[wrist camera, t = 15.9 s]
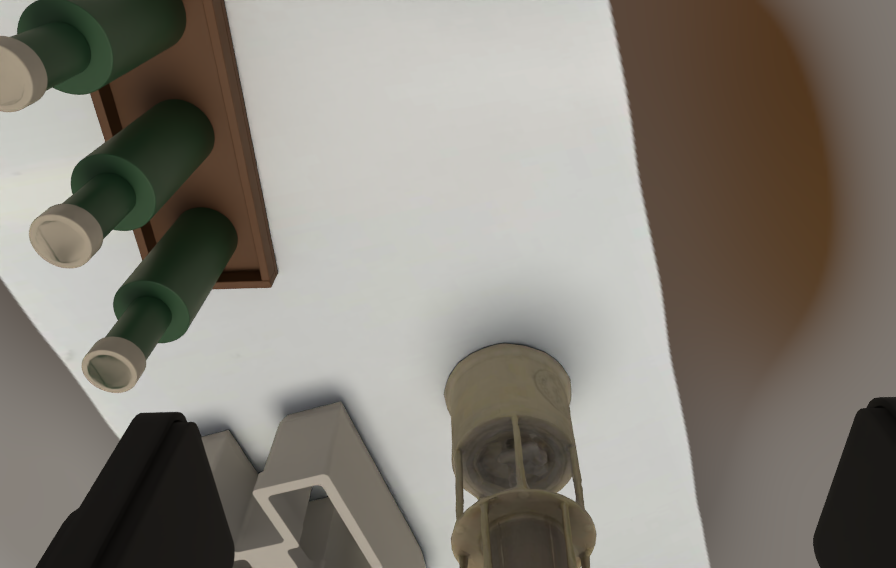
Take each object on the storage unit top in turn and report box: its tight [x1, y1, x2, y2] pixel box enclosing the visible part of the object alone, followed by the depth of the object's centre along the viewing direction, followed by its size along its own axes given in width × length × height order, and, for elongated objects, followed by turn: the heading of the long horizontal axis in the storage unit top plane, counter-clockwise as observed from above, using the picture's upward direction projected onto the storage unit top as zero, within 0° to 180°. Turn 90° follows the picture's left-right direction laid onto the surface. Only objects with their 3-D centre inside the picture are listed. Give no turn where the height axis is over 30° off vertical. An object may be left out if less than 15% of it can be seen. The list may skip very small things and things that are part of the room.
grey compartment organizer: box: [201, 402, 426, 568], centre depth 61 cm, size 17×28×9 cm, turn 19°
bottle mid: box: [29, 99, 215, 268], centre depth 38 cm, size 4×4×16 cm
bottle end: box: [82, 207, 238, 393], centre depth 42 cm, size 4×4×16 cm
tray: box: [90, 0, 278, 289], centre depth 44 cm, size 22×9×2 cm, turn 2°
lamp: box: [444, 343, 596, 568], centre depth 44 cm, size 10×13×30 cm
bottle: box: [0, 0, 186, 112], centre depth 34 cm, size 4×4×16 cm
